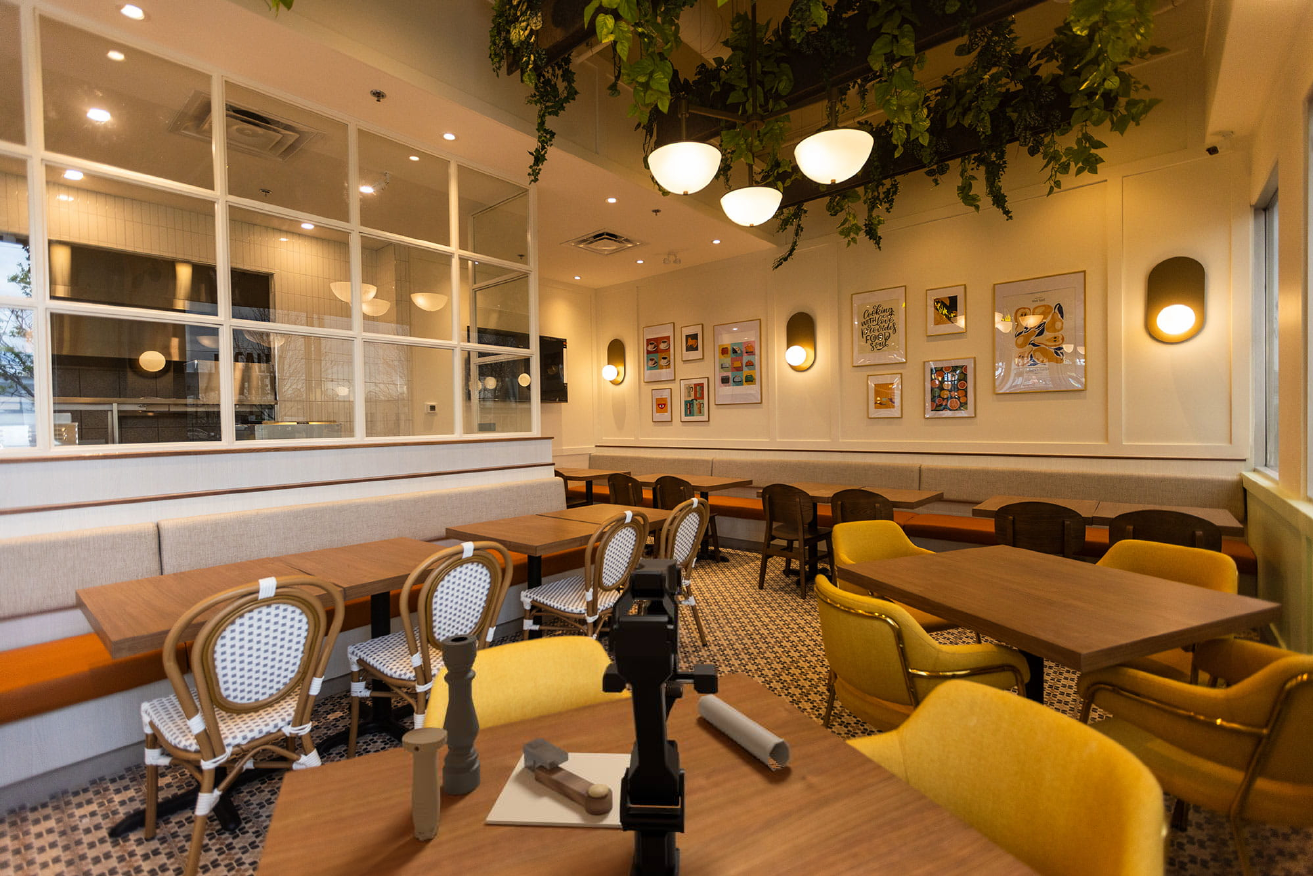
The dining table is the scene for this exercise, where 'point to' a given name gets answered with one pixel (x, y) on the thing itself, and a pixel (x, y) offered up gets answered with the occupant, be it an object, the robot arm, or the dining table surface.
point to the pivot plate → (547, 807)
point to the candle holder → (460, 716)
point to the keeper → (542, 754)
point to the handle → (425, 778)
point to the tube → (744, 731)
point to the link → (574, 789)
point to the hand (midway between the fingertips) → (661, 729)
